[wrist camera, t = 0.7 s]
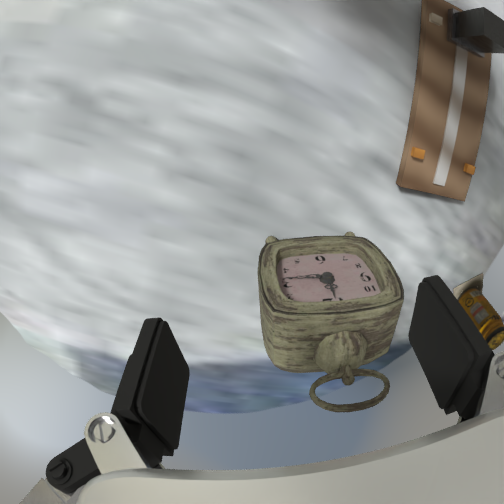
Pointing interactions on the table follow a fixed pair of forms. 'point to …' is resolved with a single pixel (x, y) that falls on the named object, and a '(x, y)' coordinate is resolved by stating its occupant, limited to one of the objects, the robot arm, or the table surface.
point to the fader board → (444, 110)
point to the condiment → (480, 311)
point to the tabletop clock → (328, 308)
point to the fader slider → (476, 31)
